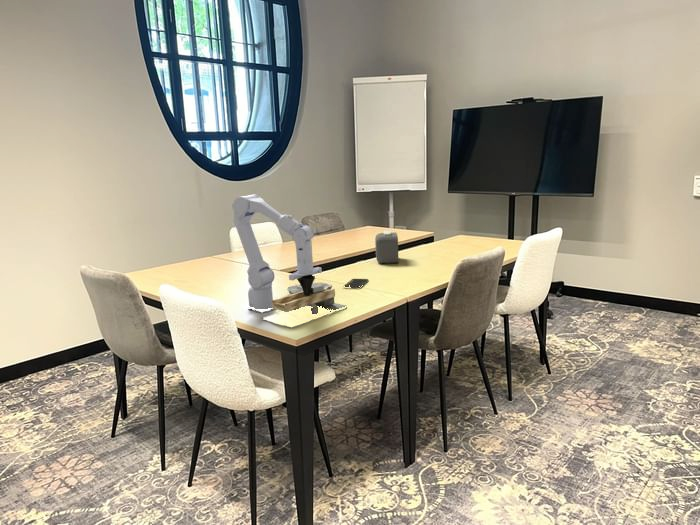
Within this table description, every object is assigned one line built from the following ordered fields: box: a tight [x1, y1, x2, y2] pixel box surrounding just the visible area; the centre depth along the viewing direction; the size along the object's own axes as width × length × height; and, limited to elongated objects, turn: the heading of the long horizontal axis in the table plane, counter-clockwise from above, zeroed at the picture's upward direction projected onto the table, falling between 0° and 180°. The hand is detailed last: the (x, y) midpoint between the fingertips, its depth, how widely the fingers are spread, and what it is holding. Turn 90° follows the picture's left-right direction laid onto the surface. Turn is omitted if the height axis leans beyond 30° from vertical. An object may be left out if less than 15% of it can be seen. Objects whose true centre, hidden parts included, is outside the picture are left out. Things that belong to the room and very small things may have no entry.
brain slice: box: [286, 282, 333, 295], centre depth 222 cm, size 20×17×3 cm
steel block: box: [305, 282, 324, 297], centre depth 196 cm, size 5×5×4 cm
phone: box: [343, 278, 369, 288], centre depth 234 cm, size 8×1×15 cm
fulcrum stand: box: [295, 302, 347, 314], centre depth 194 cm, size 28×16×3 cm, turn 138°
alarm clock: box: [374, 230, 399, 264], centre depth 278 cm, size 16×11×16 cm
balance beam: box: [272, 288, 336, 312], centre depth 193 cm, size 24×12×6 cm, turn 138°
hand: (307, 295), depth 194 cm, fingers closed
